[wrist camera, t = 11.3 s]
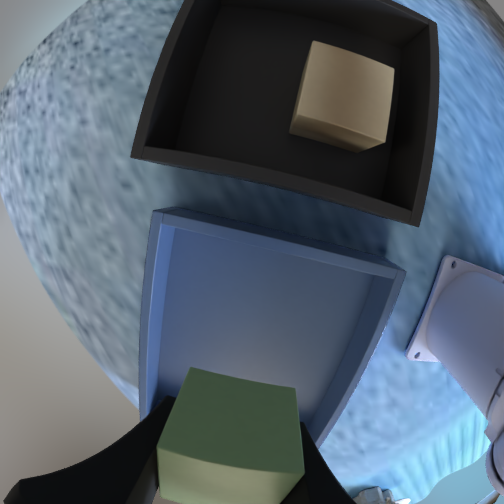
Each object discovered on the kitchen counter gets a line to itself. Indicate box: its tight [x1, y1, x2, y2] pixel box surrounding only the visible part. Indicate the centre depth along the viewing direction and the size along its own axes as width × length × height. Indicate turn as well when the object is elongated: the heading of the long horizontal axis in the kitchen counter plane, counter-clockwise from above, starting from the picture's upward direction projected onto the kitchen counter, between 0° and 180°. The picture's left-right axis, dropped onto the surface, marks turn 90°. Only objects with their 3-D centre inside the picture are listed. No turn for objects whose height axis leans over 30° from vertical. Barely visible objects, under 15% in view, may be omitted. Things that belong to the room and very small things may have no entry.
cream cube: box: [289, 41, 394, 153], centre depth 12 cm, size 4×4×4 cm
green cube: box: [157, 367, 305, 504], centre depth 8 cm, size 4×4×4 cm
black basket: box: [130, 0, 439, 227], centre depth 12 cm, size 13×12×4 cm
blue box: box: [139, 207, 406, 449], centre depth 16 cm, size 13×15×3 cm
